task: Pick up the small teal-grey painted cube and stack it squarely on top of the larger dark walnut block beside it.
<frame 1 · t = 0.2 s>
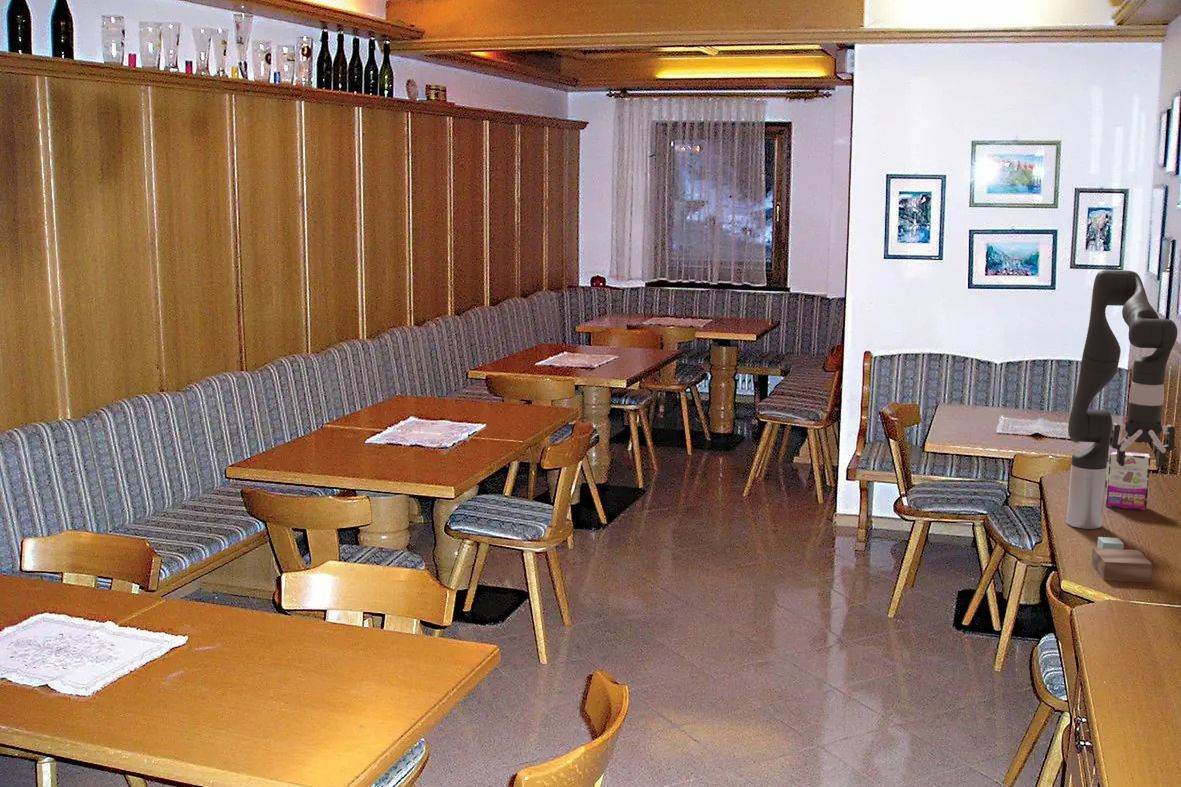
hand: (1139, 466, 292), 28 cm above the table, tool pointing down, fingers open, 8 cm apart
teal cube: (1109, 558, 311), on the table
walnut block: (1120, 575, 299), on the table
candy bar box: (1125, 507, 358), on the table
food container: (1117, 491, 376), on the table
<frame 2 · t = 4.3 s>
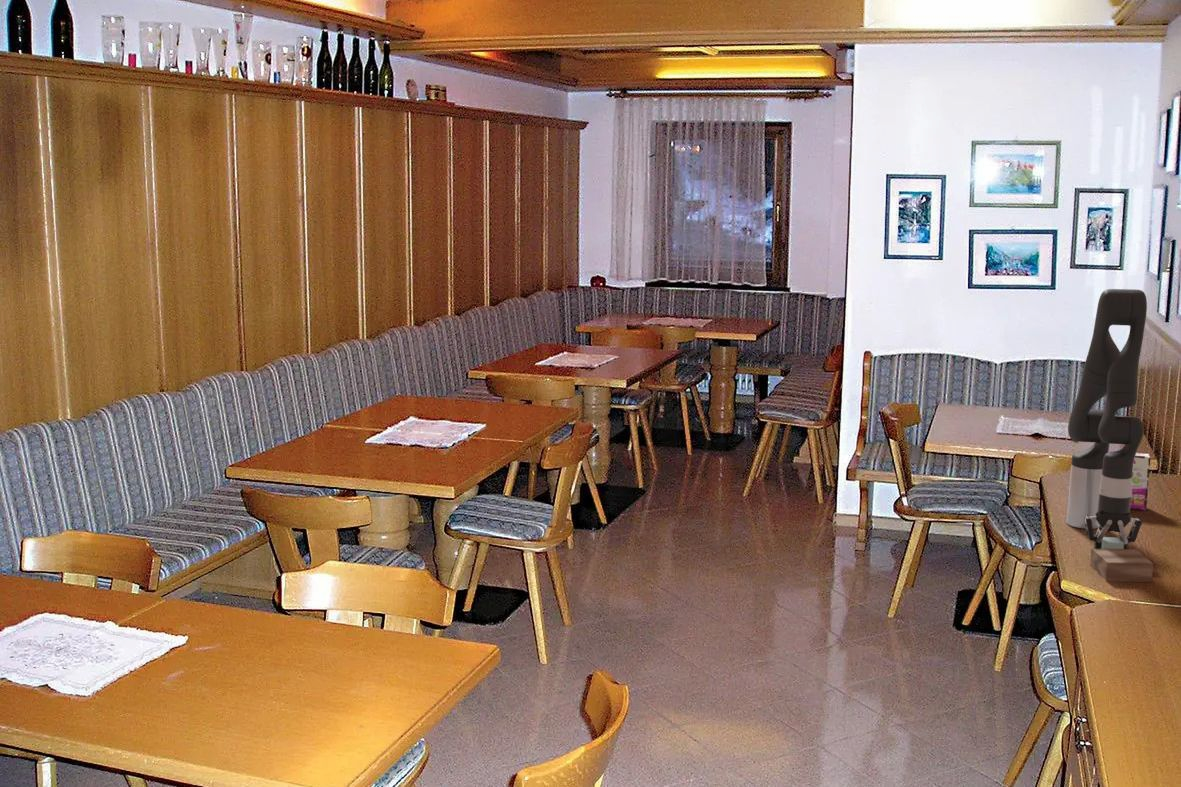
hand: (1109, 556, 311), 1 cm above the table, tool pointing down, fingers closed on teal cube, 5 cm apart
teal cube: (1109, 558, 311), on the table, touching gripper
everything else where it was.
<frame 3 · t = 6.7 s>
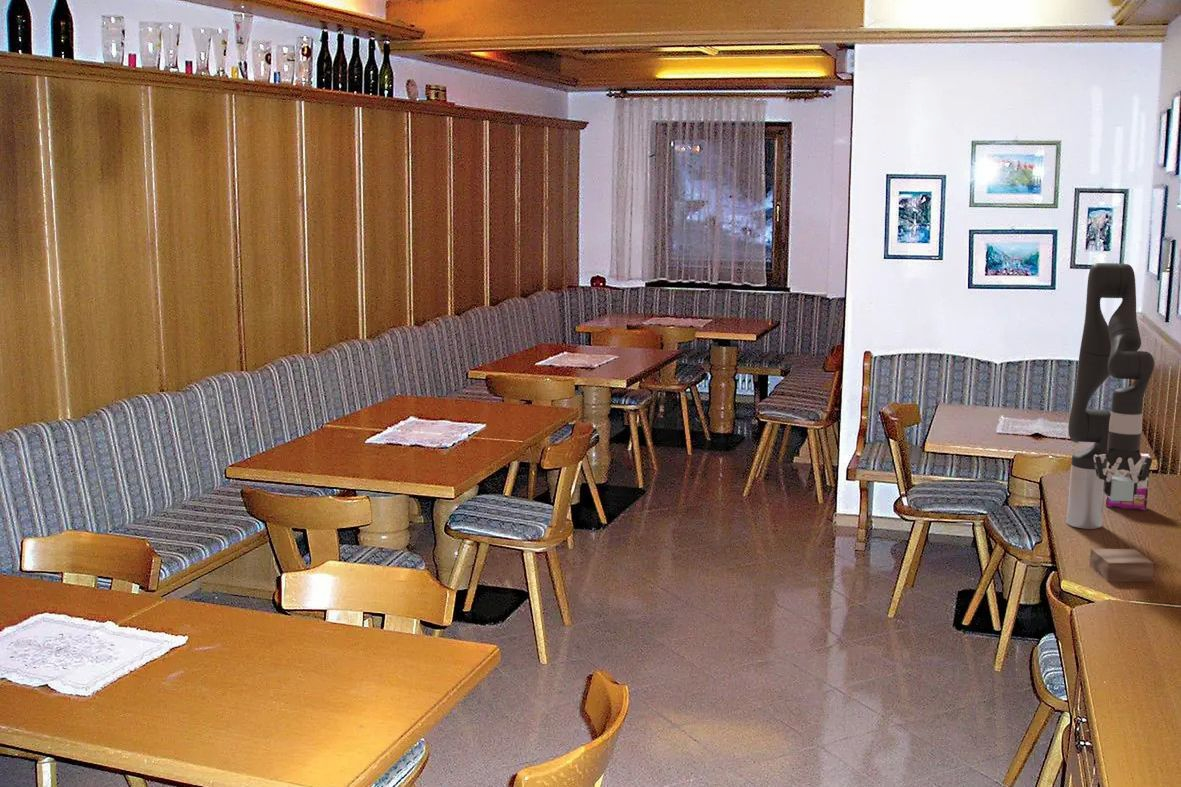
hand: (1119, 495, 303), 18 cm above the table, tool pointing down, fingers closed on teal cube, 5 cm apart
teal cube: (1119, 498, 303), point 17 cm above the table, touching gripper
everything else where it was.
when the fingers open (7 cm above the table, at t = 9.3 s): teal cube drops 2 cm, resting on walnut block.
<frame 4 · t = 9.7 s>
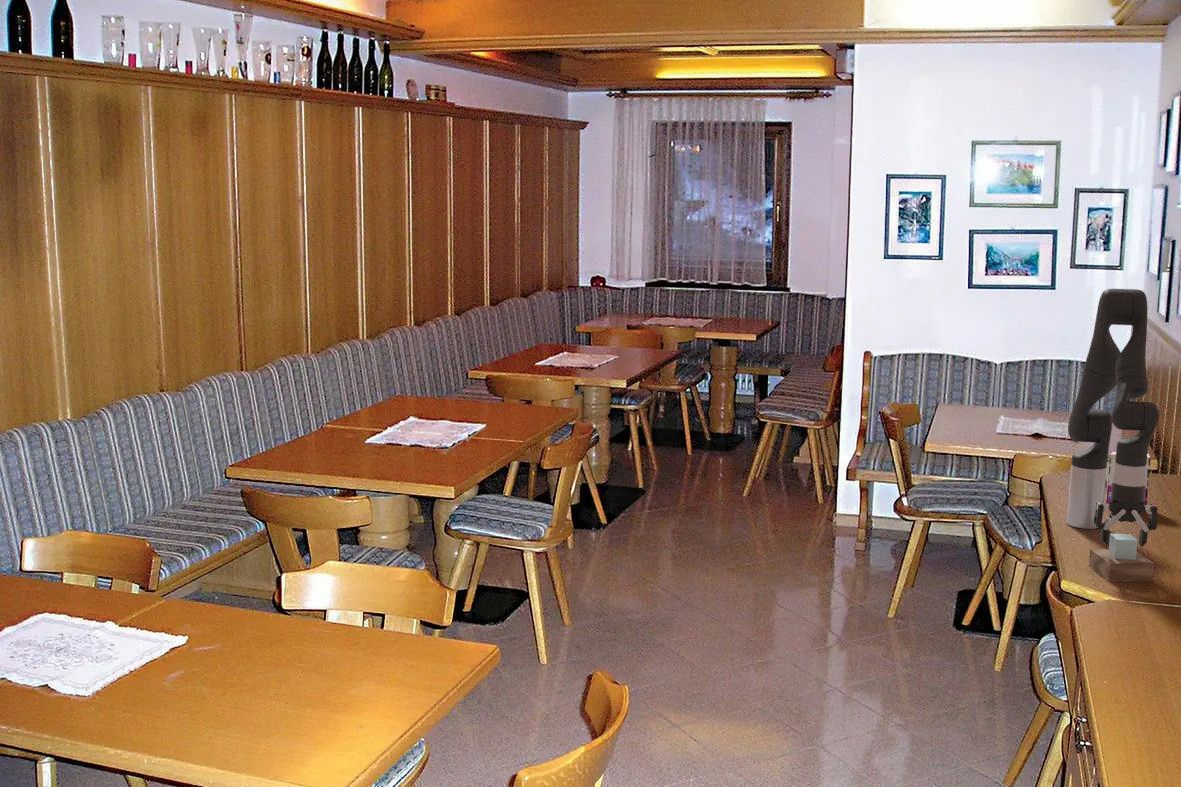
hand: (1123, 544, 298), 8 cm above the table, tool pointing down, fingers open, 8 cm apart
teal cube: (1121, 556, 298), point 5 cm above the table, touching walnut block
walnut block: (1120, 575, 299), on the table, touching teal cube
everything else where it was.
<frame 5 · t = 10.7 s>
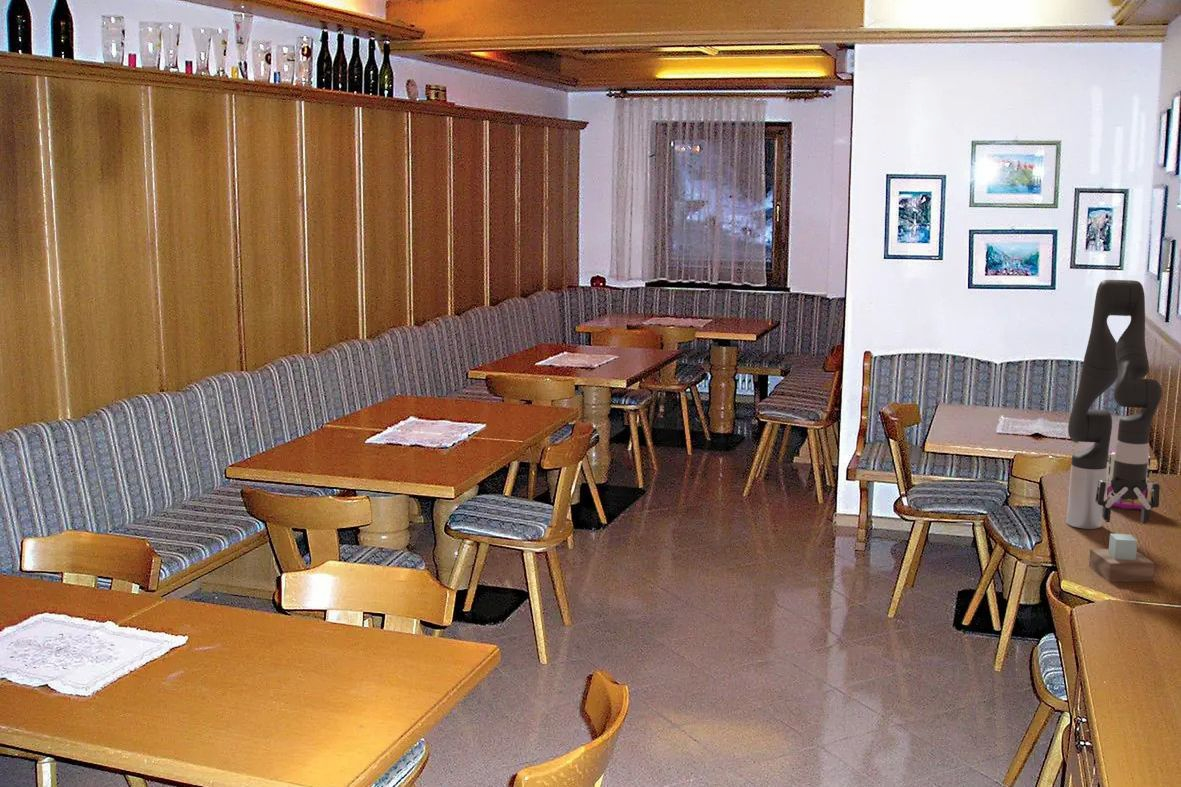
hand: (1124, 522, 297), 13 cm above the table, tool pointing down, fingers open, 8 cm apart
nothing on the table moved.
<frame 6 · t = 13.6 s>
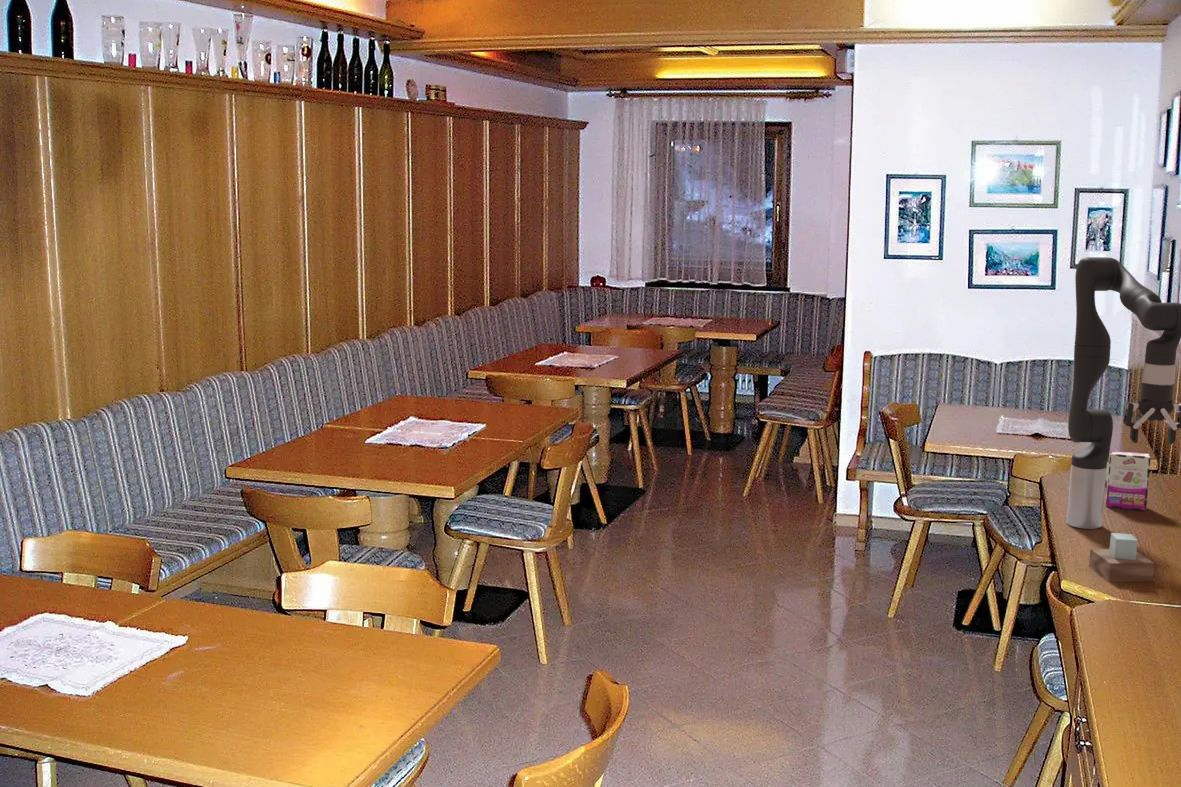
hand: (1152, 443, 308), 30 cm above the table, tool pointing down, fingers open, 8 cm apart
nothing on the table moved.
at the end: teal cube 0.2 cm off-centre on the walnut block, point 5.0 cm above the walnut block's base; teal cube tilted 0°; the gripper is holding nothing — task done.
